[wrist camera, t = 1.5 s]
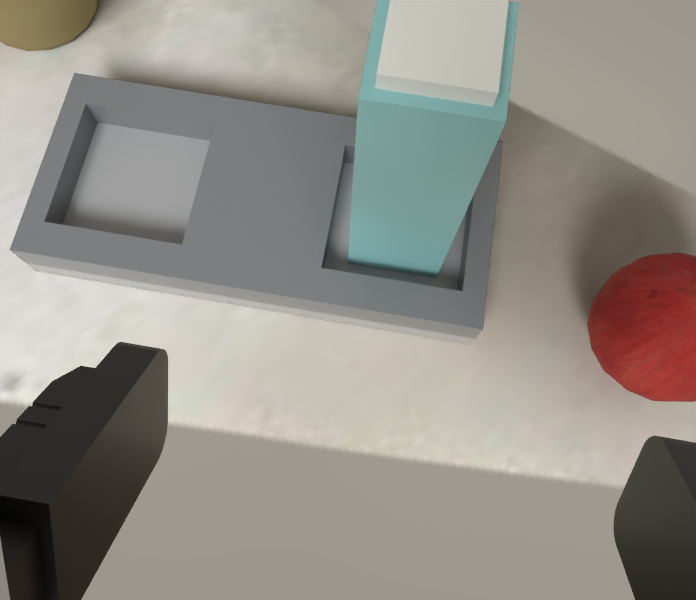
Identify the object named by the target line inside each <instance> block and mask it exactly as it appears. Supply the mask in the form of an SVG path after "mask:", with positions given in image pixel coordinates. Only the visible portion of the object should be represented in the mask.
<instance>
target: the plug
mask: <svg viewBox="0 0 696 600" xmlns="http://www.w3.org/2000/svg"><path fill="white" fill-rule="evenodd" d="M518 6H519V3H515V2H509V0H377V3H376V8H375V13H374V19H373V24H372V29H371V34H370V39H369V44H368V50H367V55H366V60H365V65H364V70H363V75H362V81H361V86H360V91H359V96H358V107H357V123H356V140H355V156H354V172H353V188H352V204H351V220H350V236H349V252H348V263H351V264H357V265H363V266H369V267H375V268H381V269H387V270H393V271H399V272H405V273H411V274H417V275H423V276H429V277H435V278H436V277H437V275H438V273H439V271H440V268H441V266H442V264H443V262H444V259H445V257H446V255H447V253H448V251H449V248H450V246H451V244H452V242H453V239H454V237H455V235H456V233H457V231H458V228H459V226H460V224H461V222H462V219H463V217H464V215H465V213H466V210H467V208H468V206H469V204H470V202H471V199H472V197H473V195H474V193H475V190H476V188H477V186H478V184H479V182H480V179H481V177H482V175H483V173H484V170H485V168H486V166H487V164H488V162H489V159H490V157H491V155H492V153H493V150H494V148H495V146H496V144H497V142H498V139H499V137H500V135H501V133H502V130H503V128H504V126H505V124H506V120H507V111H508V101H509V92H510V82H511V73H512V63H513V54H514V44H515V34H516V25H517V16H518Z"/></svg>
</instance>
